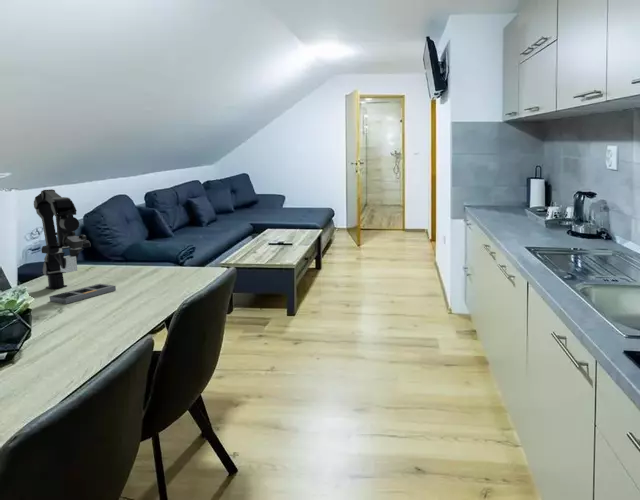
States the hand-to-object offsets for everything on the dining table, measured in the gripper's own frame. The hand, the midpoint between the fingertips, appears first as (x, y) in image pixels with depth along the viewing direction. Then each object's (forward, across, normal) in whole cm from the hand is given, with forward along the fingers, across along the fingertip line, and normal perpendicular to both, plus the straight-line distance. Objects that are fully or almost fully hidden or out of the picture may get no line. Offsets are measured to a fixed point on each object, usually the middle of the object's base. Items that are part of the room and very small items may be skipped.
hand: (68, 267), depth 239 cm
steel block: (+2, 0, 0) cm, 2 cm away
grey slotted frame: (+12, +3, -4) cm, 13 cm away
